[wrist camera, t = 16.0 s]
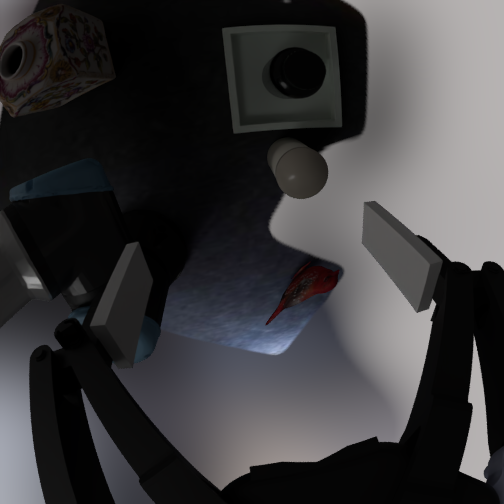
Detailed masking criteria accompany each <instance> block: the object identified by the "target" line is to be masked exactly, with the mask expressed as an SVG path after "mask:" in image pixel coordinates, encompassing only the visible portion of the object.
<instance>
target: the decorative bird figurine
mask: <svg viewBox="0 0 504 504" xmlns="http://www.w3.org/2000/svg"><path fill="white" fill-rule="evenodd" d="M310 262H311V261H310ZM310 262H309V263H308V264H310ZM308 264H307V265H308ZM307 265H305V266H303V267H302V268H301V269H300V270H299V271H298V272H297V273H296V274H295V275H294V277H293V278H291V279H293V280H292V282H291V283H290V285H289V286H288V288H287V289H286V291H285V292H284V294H283V296H282V299H281V301H280V304H279V306H278V307H277V309H276V310H275V312H274V313H273V314H272V316H271V317H270V318H269V320H268V321H267V323H266V325H268V324H269V323H270V322H271V321H272V320H273V319H274V318H275V317H276V316H277V315H278V314H279V313H280V312H281V311H282V310H284V309H285V308H288V307H291V306H294V305H296V304H298V303H301V302H302V301H304V300H306V299H308V298H309V297H311V296H313V295H315V294H319V293H326V292H328V291H330V290H332V289H333V288H334V287H335V286H336V285H337V282H338V274H339V270H337V271H335V272H333V271H332V270H329V269H326V268H325V267H322V266H313V267H310V268H307V269H305V268H306V266H307Z"/></svg>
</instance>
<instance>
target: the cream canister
mask: <svg viewBox="0 0 504 504" xmlns="http://www.w3.org/2000/svg"><path fill="white" fill-rule="evenodd" d="M267 160H268V164H269V166H270V168H271V170H272V172H273V173H274V175H275V177H276V180H277V183H278V185H279V187H280V188H281V190H282V191H283V192H284V193H285V194H287V195H288V196H290V197H293V198H297V199H305V198H309V197H312V196H314V195H316V194H317V193H318V192H320V191H321V189H322V188H323V187H324V186H325V184H326V181H327V178H328V166H327V163H326V161H325V159H324V158H323V157H322V156H321V155H320V154H319V153H318V152H317V151H315V150H313V149H311V148H309V147H308V146H306V145H305V144H303V143H302V142H301V141H299V140H297V139H295V138H291V137H285V138H281V139H278V140H277V141H275V142H274V143H273V144H272V145H271V147H270V148H269V151H268V155H267Z"/></svg>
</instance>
